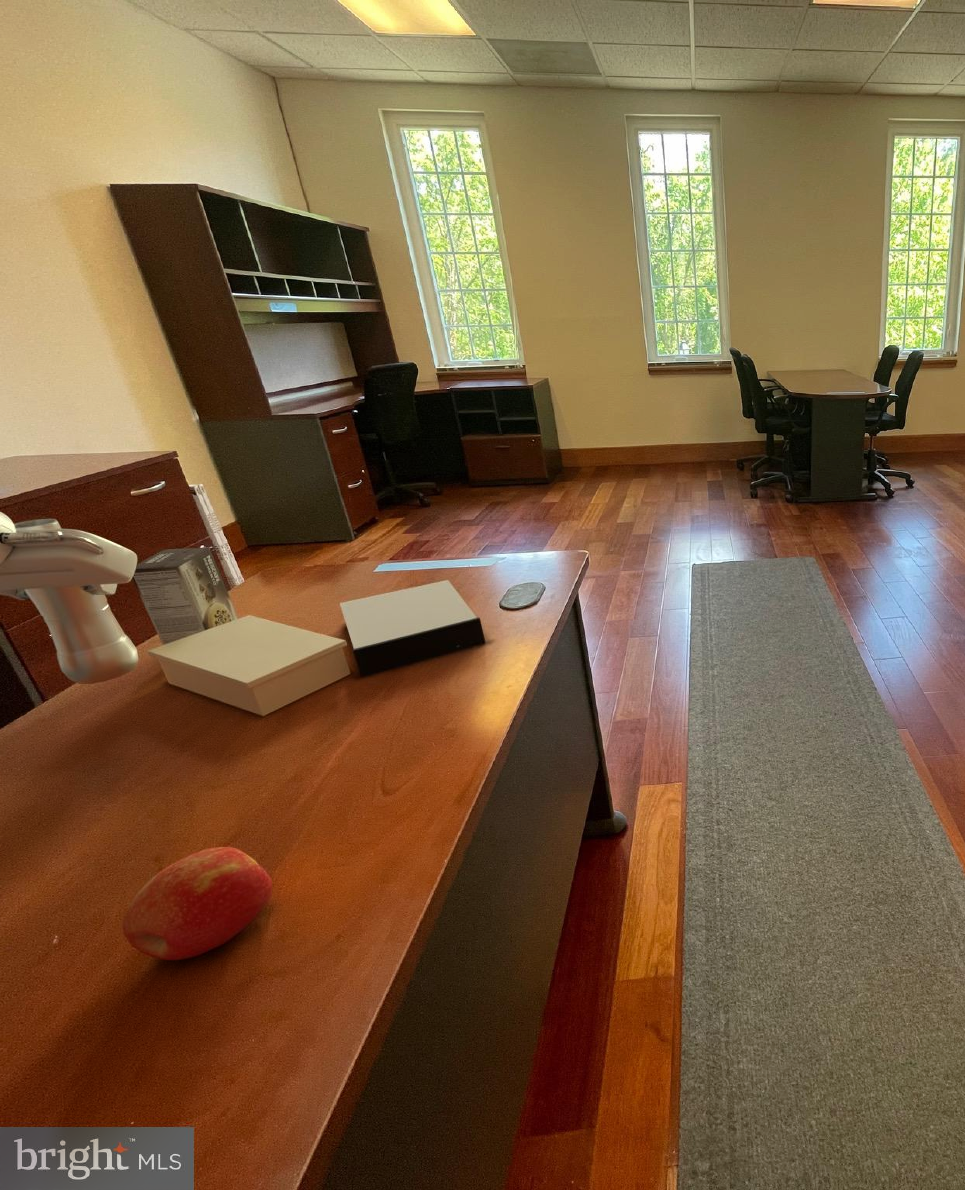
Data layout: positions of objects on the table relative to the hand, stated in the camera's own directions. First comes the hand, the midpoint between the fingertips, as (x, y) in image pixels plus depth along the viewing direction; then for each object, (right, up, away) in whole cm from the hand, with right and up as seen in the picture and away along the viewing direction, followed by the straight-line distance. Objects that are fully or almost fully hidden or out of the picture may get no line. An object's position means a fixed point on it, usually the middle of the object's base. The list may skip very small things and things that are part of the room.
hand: (71, 591), depth 72 cm
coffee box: (-10, -9, +28) cm, 31 cm away
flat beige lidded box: (+6, -13, +19) cm, 24 cm away
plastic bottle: (0, -11, +4) cm, 12 cm away
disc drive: (+21, -8, +33) cm, 39 cm away
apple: (+36, -30, -19) cm, 51 cm away
